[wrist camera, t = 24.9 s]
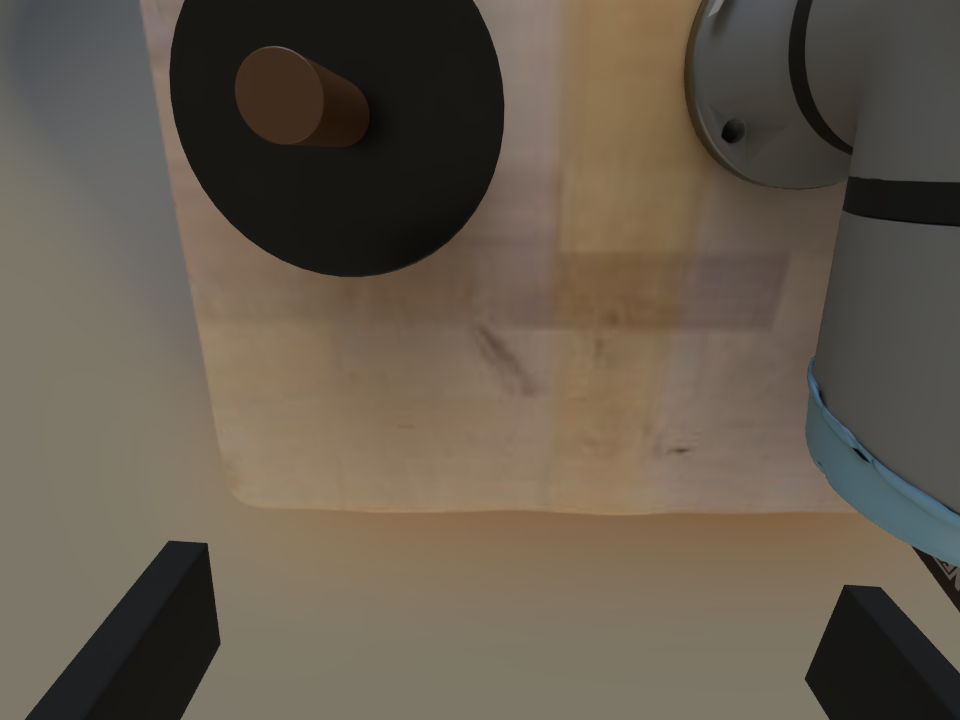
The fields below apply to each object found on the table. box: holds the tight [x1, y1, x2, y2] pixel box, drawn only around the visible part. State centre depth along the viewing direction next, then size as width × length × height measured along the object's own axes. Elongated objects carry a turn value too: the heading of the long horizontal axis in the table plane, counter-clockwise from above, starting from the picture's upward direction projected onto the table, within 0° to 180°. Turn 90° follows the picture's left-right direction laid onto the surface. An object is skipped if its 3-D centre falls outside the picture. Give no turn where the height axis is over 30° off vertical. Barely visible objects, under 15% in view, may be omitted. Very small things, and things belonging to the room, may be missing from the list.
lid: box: [169, 0, 504, 277], centre depth 21 cm, size 15×15×9 cm
